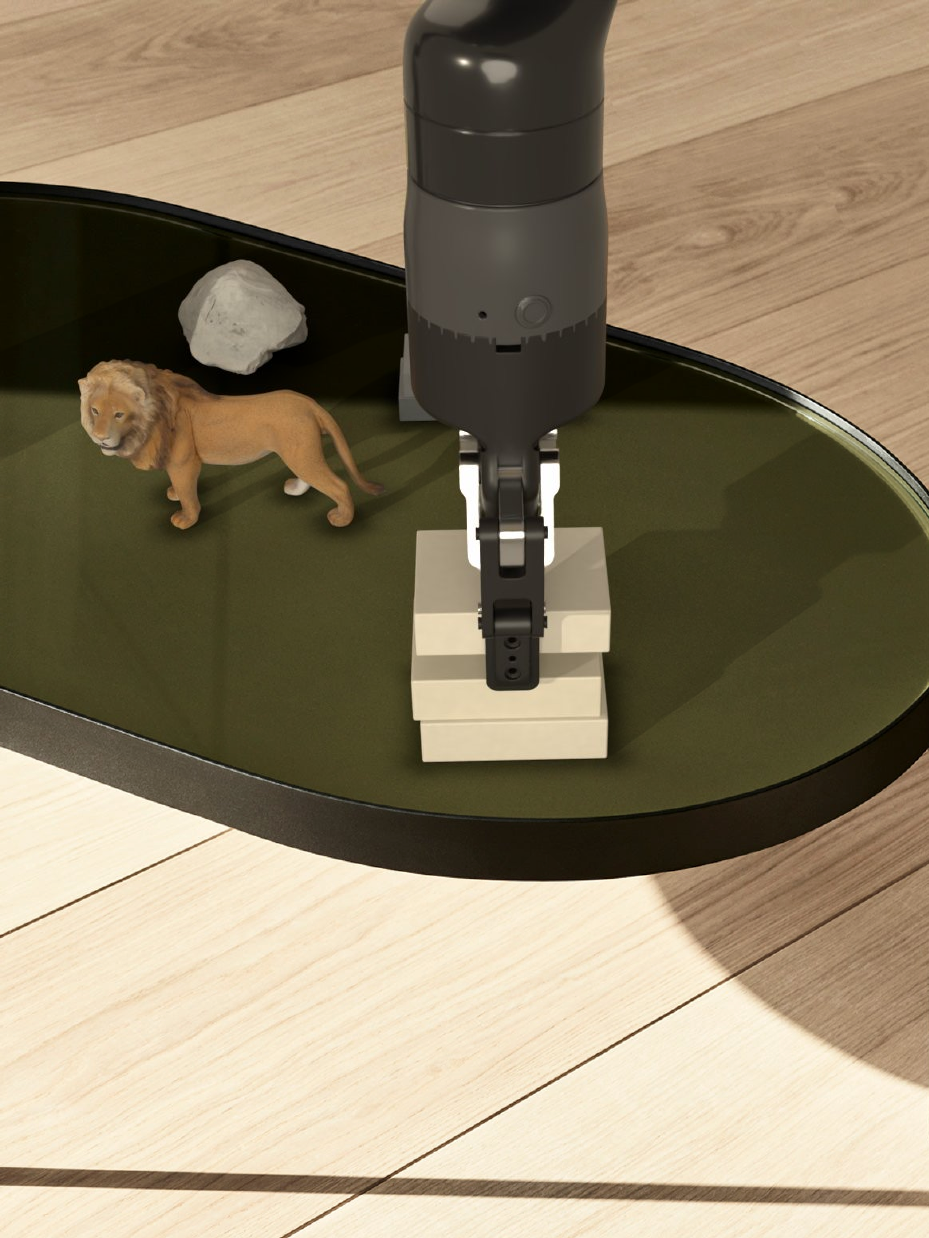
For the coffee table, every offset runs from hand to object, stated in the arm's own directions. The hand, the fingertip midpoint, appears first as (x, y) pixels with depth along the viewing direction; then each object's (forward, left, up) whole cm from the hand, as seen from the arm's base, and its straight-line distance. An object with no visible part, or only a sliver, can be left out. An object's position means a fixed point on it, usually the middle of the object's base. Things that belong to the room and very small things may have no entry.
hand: (511, 636), depth 79 cm
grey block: (-1, +27, -4) cm, 28 cm away
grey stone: (-15, +33, -5) cm, 37 cm away
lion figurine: (-14, +16, -5) cm, 22 cm away
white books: (0, 0, -4) cm, 4 cm away
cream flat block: (0, 0, +1) cm, 1 cm away
